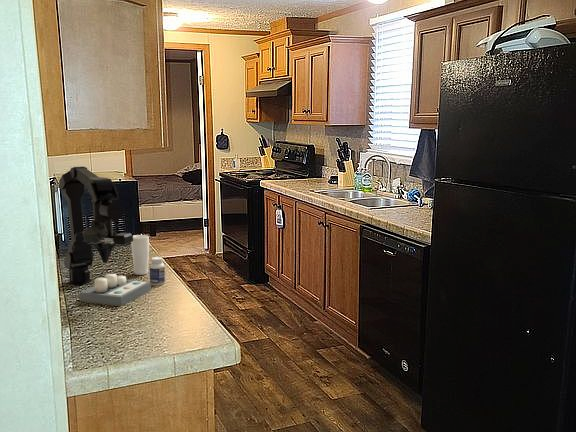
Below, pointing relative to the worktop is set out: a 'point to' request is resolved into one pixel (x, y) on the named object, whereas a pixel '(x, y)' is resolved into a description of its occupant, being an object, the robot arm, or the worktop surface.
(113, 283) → the button
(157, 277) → the pill bottle
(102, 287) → the button
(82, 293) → the button board
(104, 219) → the robot arm
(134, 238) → the white tall cylinder
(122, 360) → the worktop surface
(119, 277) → the button
